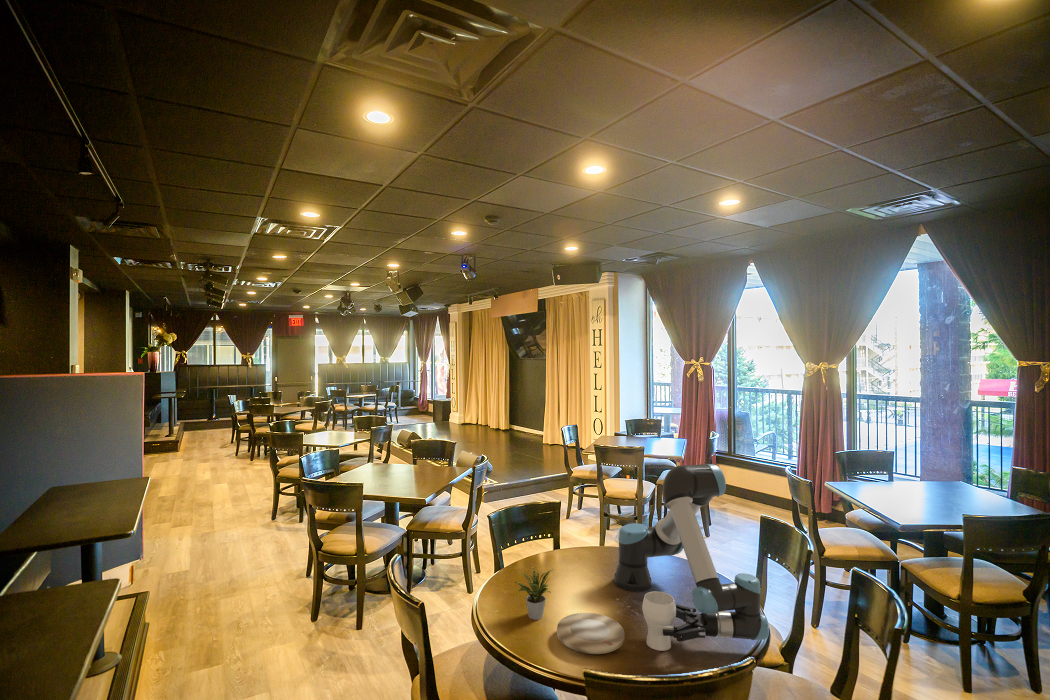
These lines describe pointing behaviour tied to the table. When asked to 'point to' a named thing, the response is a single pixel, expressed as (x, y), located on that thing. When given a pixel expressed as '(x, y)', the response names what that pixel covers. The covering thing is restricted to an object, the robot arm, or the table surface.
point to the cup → (658, 617)
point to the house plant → (535, 594)
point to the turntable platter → (590, 633)
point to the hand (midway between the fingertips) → (648, 618)
